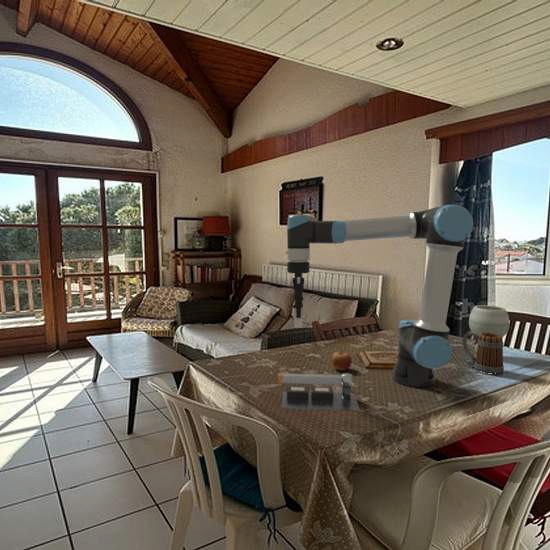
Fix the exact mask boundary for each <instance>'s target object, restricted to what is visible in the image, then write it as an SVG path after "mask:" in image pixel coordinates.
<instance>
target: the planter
mask: <svg viewBox="0 0 550 550" xmlns="http://www.w3.org/2000/svg"><path fill="white" fill-rule="evenodd" d="M468 318H469V319H468V326H469V329H470V332H474V333H476V334H477V335H478V336H479V334H480V333H490V334H491V333H495V334H499V335H502V337H503V338H504V337H505V336H506V335H507V334H508V332H509V329H510V317H509V314H508V311H507V309H506V308H504V307H501V306H495V305H485V304H483V305H482V304H481V305H480V304H479V305H475V306H473V308H472V310H471V311H470V314H469V317H468ZM477 347H478V343H477V344H476V345H475V349H474V352H475V351H477Z"/></svg>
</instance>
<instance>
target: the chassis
mask: <svg viewBox="0 0 550 550" xmlns="http://www.w3.org/2000/svg"><path fill="white" fill-rule="evenodd" d="M341 386H342V385H341ZM281 409H286V410H289V409H292V410H293V409H294V410H318V411H319V410H321V411H323V410H325V411H354V412H355V411H357V412H358V411H359V412H360V411H361V409H360V406H359V404H358V401H357V398H356V396H355V393H352V386H350V387H345V386H342V387H341V392H333V400H312V399H311V391H310V392H309V400H305V399H287V391H282V399H281Z"/></svg>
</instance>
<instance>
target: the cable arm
mask: <svg viewBox="0 0 550 550" xmlns="http://www.w3.org/2000/svg"><path fill="white" fill-rule="evenodd" d="M277 384H300V385H301V384H304V385H305V384H308V385H309V384H310V385H313V384H314V385H338V386H339V385H341V386H345V387H350V386H351V387H352V386H353V374H351V373H348V372H344V373H341V374H320V373H317V374H313V373H310V374H308V373H307V374H306V373H283V372H277Z"/></svg>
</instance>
